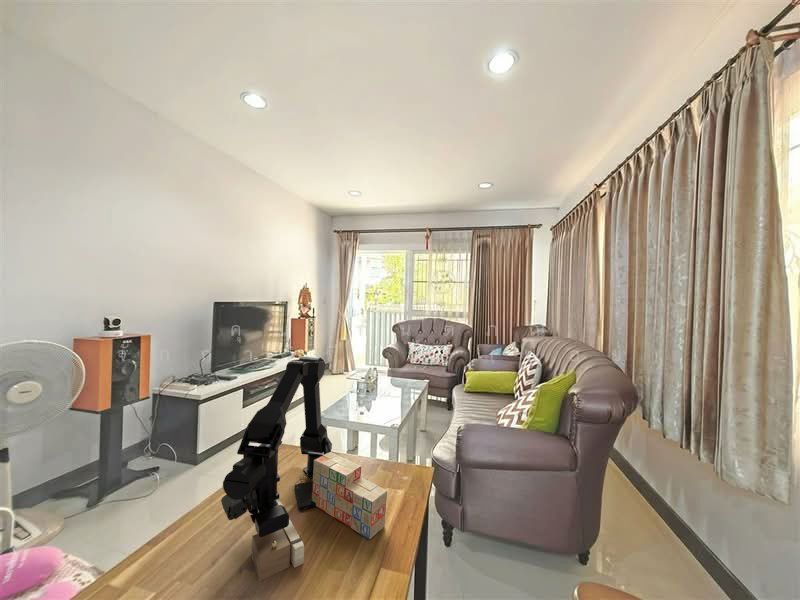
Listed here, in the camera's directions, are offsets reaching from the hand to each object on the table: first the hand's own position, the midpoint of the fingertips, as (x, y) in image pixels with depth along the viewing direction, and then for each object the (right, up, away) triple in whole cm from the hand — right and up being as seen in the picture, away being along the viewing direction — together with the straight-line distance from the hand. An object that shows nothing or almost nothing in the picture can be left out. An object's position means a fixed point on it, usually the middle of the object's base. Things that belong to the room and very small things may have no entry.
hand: (262, 537), depth 73 cm
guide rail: (+3, -1, +4) cm, 5 cm away
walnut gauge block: (+4, -2, -5) cm, 6 cm away
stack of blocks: (+18, -2, +10) cm, 21 cm away
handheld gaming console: (+7, -1, +18) cm, 19 cm away
